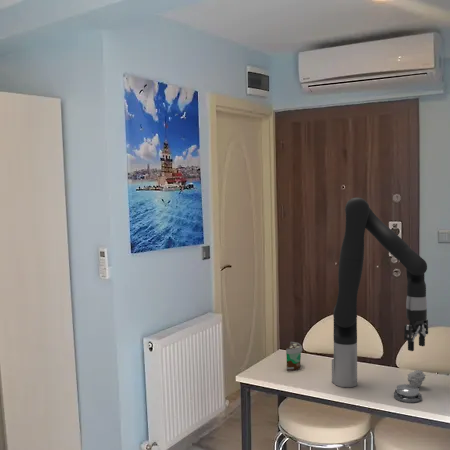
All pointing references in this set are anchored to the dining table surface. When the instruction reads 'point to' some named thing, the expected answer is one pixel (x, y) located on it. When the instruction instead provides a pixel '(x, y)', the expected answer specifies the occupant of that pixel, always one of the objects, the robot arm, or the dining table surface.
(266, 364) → the dining table surface
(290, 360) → the food container
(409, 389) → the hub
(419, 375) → the frog figurine
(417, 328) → the robot arm
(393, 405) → the dining table surface
